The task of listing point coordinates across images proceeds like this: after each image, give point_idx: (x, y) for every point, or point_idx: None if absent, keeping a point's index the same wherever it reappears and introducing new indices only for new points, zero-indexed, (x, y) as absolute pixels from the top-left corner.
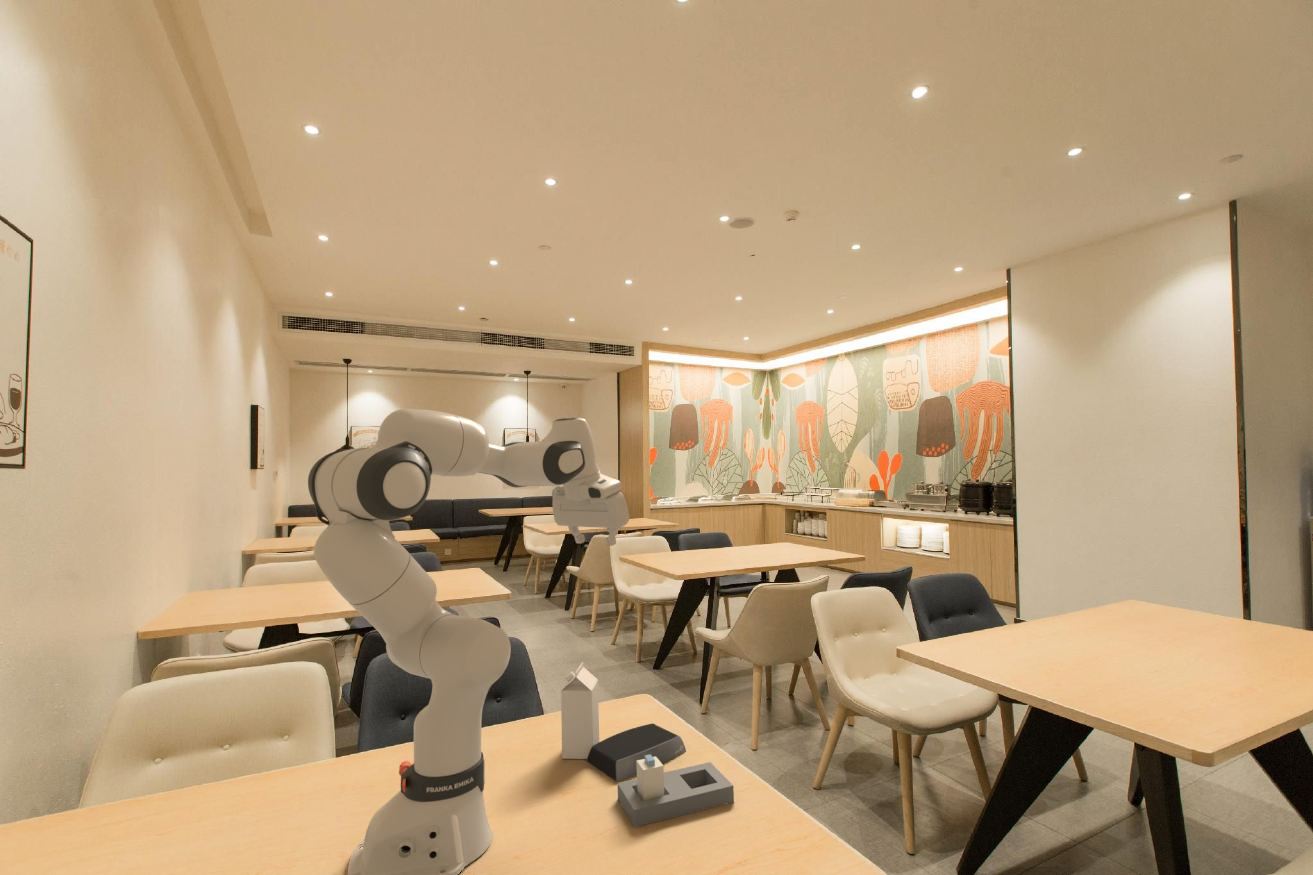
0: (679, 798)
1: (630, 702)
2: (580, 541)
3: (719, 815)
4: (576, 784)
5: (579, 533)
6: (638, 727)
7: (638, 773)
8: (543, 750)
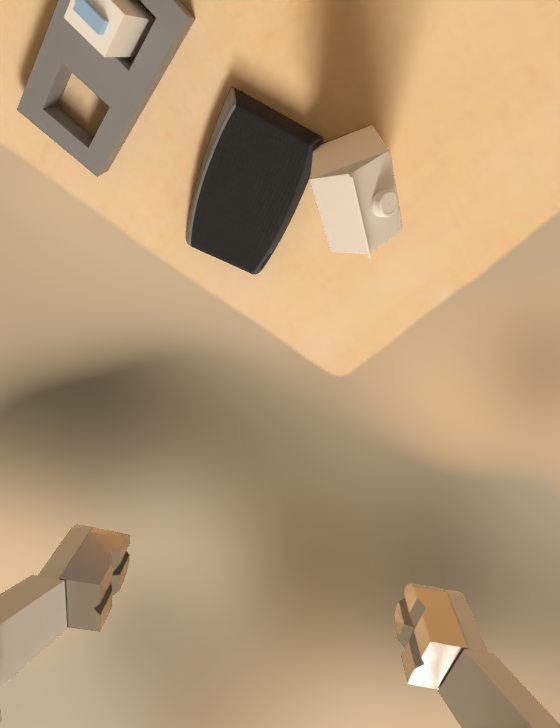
0: (55, 12)
1: (348, 358)
2: (414, 599)
3: (22, 50)
4: (297, 37)
5: (452, 693)
6: (266, 248)
7: (122, 5)
8: (426, 145)
